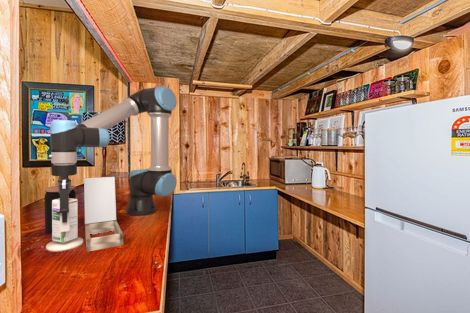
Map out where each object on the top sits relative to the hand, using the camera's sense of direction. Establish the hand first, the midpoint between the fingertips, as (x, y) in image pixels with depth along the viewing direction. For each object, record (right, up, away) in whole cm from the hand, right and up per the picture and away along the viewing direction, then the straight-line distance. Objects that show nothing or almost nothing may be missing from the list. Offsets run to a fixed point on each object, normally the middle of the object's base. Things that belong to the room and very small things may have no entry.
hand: (65, 227), depth 90 cm
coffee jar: (-12, -6, +15) cm, 20 cm away
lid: (+5, +7, +15) cm, 17 cm away
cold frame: (+10, -6, +6) cm, 14 cm away
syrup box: (0, -4, 0) cm, 4 cm away
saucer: (0, -6, 0) cm, 6 cm away
